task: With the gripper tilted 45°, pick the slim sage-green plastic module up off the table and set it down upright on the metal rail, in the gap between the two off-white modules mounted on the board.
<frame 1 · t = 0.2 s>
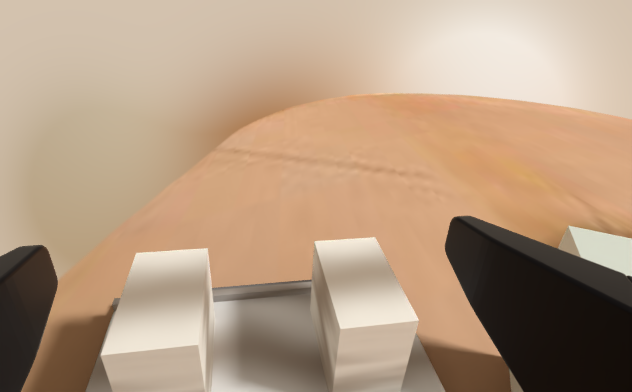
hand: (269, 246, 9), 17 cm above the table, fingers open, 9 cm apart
rail board: (267, 374, 24), on the table
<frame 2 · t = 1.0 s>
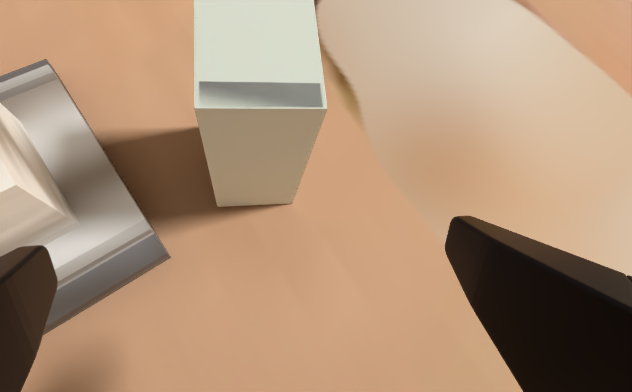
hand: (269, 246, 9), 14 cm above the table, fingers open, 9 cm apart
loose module: (253, 163, 24), on the table
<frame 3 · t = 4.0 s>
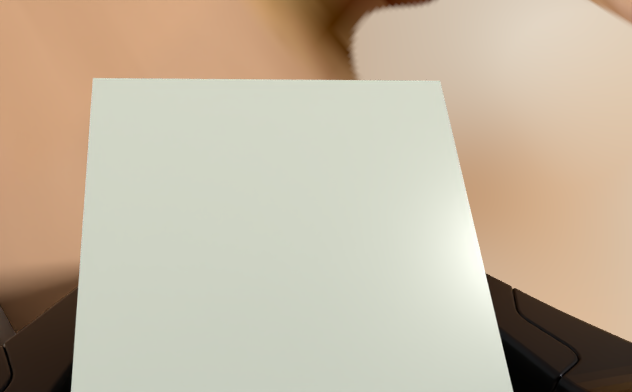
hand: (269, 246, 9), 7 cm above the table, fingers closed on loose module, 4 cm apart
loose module: (262, 314, 14), on the table, touching gripper
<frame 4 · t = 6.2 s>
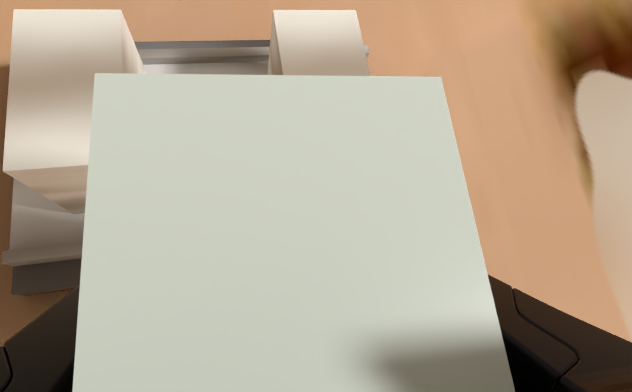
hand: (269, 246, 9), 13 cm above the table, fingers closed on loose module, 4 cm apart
rail board: (218, 151, 23), on the table
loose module: (262, 313, 15), point 7 cm above the table, touching gripper
when the fingers open (9 cm above the table, at t = 8.8 s): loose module stays where it is, resting on rail board.
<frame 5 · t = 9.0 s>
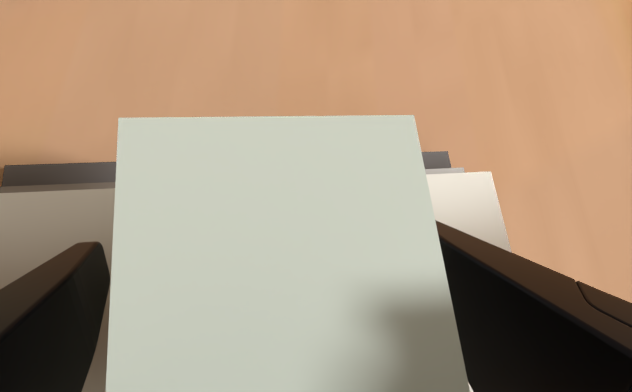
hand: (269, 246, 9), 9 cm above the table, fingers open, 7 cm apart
rail board: (259, 315, 17), on the table
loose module: (261, 314, 15), point 2 cm above the table, touching rail board
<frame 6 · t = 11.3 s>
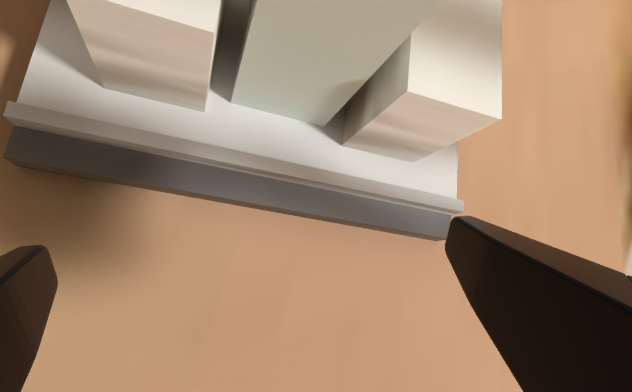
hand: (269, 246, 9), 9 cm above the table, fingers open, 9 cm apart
rail board: (279, 79, 20), on the table
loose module: (286, 63, 19), point 2 cm above the table, touching rail board
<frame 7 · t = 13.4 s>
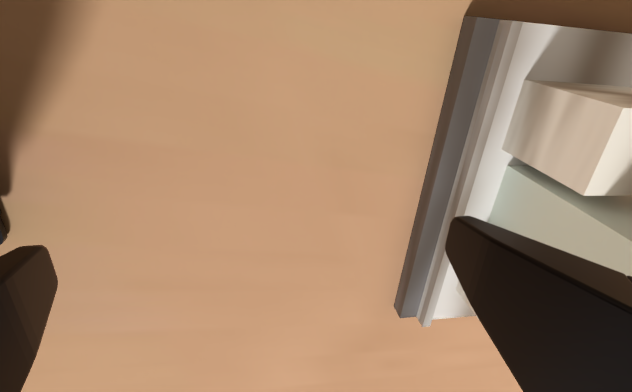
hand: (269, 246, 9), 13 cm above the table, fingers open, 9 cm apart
rail board: (516, 187, 26), on the table
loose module: (532, 198, 25), point 2 cm above the table, touching rail board
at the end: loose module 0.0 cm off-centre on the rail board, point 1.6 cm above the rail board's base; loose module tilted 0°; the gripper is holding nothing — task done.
